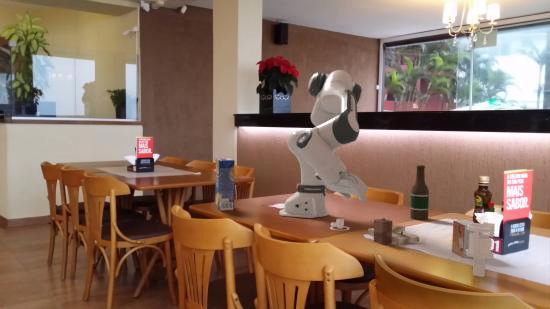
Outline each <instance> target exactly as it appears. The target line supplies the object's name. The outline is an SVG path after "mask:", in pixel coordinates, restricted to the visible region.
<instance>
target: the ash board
mask: <svg viewBox="0 0 550 309" xmlns="http://www.w3.org/2000/svg"><path fill="white" fill-rule="evenodd" d="M367 234H368V235H371V236H372V237H374V227H373V228H368V229H367ZM392 243H393V244H396V245H398V246H400V245H408V244H409V245H410V244H417V243H420V236H417V235H415V234H412V233H408V232H405V231H403V234H401V232H392Z"/></svg>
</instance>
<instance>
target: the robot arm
mask: <svg viewBox="0 0 550 309" xmlns="http://www.w3.org/2000/svg"><path fill="white" fill-rule="evenodd" d="M307 86H308V94H309V95H311V97H314V98H316V101H315V103H314V106H313V107H312V108H313V109H312V111H311V114H310V122H311V123H312V124H313V125H314V127H313V128H312V129H306V130H305V129H304V130H303V129H302V130H297V131H292V132H291V133H290V134H289V136H287V137H288V138H287V144H286V145H287V148H288V150H289V152H291V153H292V154H293V155H294V156H295V157H296V158H297V161H298V162H299V168H300V183H297V184H296V185H295V186H296V192H295V193H293V194H292V195H291V196H289V197H288V198H287V199H286V200H285V201H284V205H283V208H282V209H281V210H279V215H280V216H283V217H292V218H293V217H295V218H308V219H315V218H320V217H322V218H323V217H327V216H328V215H329V213H328V208H327V203H326V197H327V196H326V195H327V189H328V190H330V191H332V192H337V193H339V194H340V195H341V196H342V197H344V199H348V200H350V198H351V197H352V195H353V196H356V197H359V201H360V202H362V203H366V202H367V201H368V198H367V196H366V193H367V192H368V190H369V189H368V187H369V186H368V185H367V184H366V183H364V181H363V180H362V179H361V178H360V177H359V176H358V175H357V174H355V173H352V172H347V166H346V165H345V164H344V163H343V161H342V160H341V158H339V156H338V155H336V154H335V152H337V150H338V149H339V148H340V147H342V146H344V145H348V144H350V143H353V142H355V141H356V140H357V139H358V137H359V135H360V124H359V121H358V104H359V103H360V101H361V99H362V96H363V89H362V86H361V85H359V84H358V83H357V82H352V77H351V75H350V74H349V73H348V72H347V71H346V70H343V69H342V70H341V69H337V70H334V71H332V72H330V73H325V72H322V71H318V72H315V73H314V74H313V75H312V76H311V77H310V78H309V81H308V84H307Z"/></svg>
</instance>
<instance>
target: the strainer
mask: <svg viewBox="0 0 550 309" xmlns="http://www.w3.org/2000/svg"><path fill="white" fill-rule="evenodd" d="M476 227H477V228H476ZM467 230H470V231H474V233H472V232H470V234H469V249H466V255H467V256H469V257H473V258H472V259H473V261H472V262H473V263H472V275H473V276H475V277H479V278H484V277H486V274H485V273H486V260H490V259H493V258H494V255H495V254H494V252H493V251H491V250H492V249H491V248H492V247H491V246H492V238H493V237H495V223H492V222H488V221H484V222H482V223H476V222H473V223H471V224H467ZM479 232H481V235H480V236H479Z"/></svg>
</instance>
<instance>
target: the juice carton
mask: <svg viewBox="0 0 550 309" xmlns="http://www.w3.org/2000/svg"><path fill="white" fill-rule="evenodd" d="M235 161H236V160H234V159H233V158H215V190H214V191H215V194H214V196H215V199H214V200H215V204H214V205H215V208H216V209H217V210H218V211H233V210H235V174H236V173H235V172H236V171H235V168H236V167H235V166H236V165H235V163H236V162H235Z"/></svg>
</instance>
